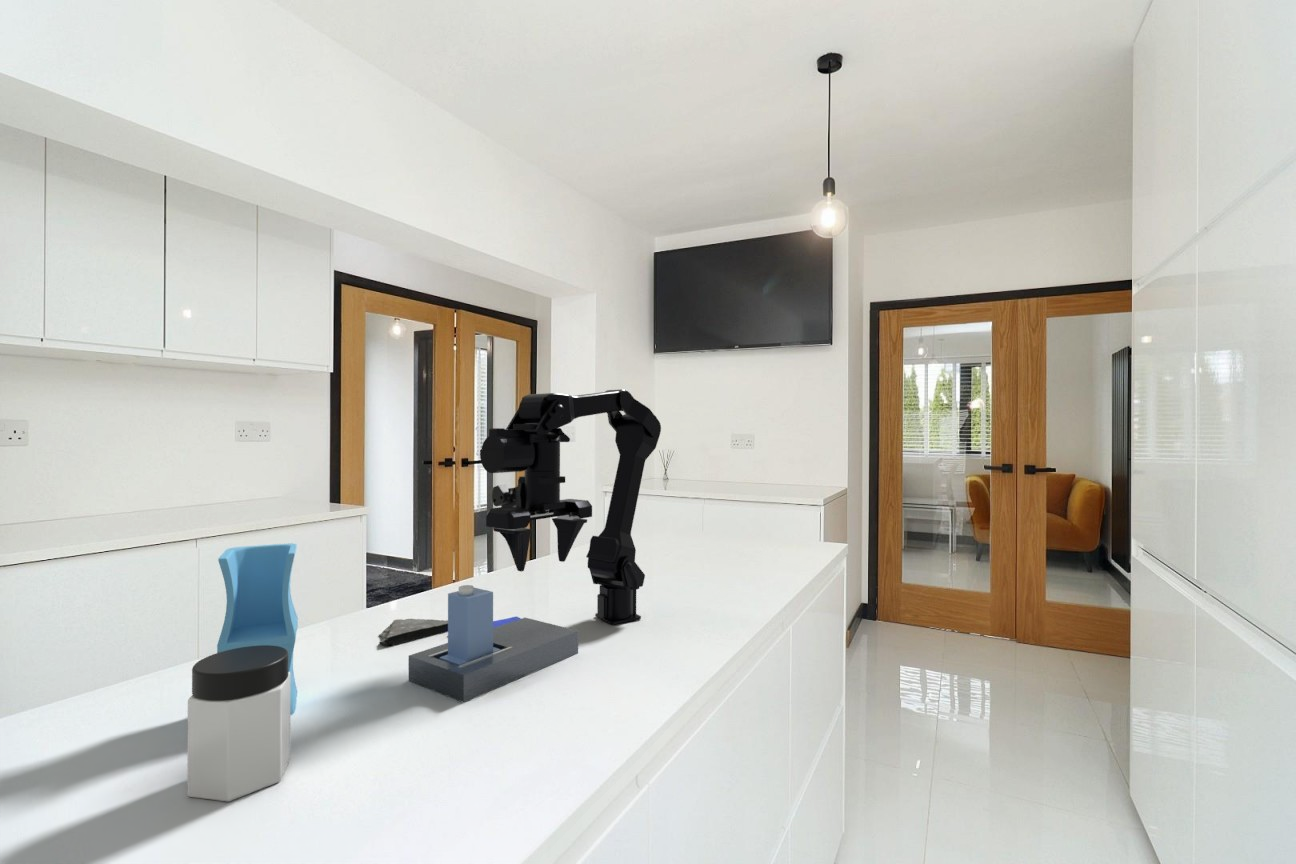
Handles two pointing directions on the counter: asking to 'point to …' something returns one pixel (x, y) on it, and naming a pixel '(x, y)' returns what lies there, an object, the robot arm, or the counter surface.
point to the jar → (238, 722)
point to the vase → (260, 600)
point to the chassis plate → (495, 659)
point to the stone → (411, 630)
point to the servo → (469, 625)
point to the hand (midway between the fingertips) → (542, 566)
